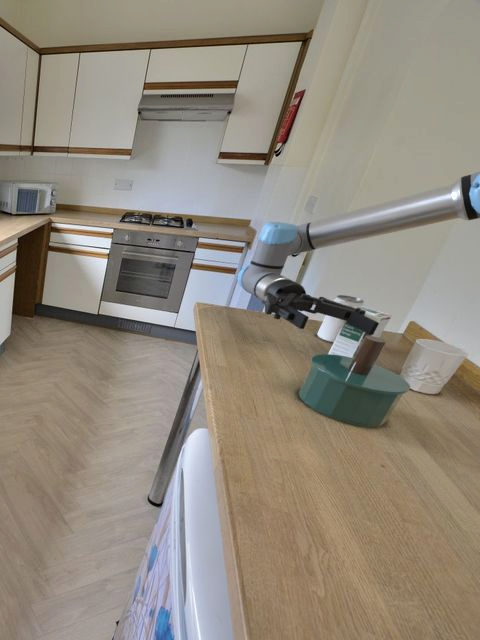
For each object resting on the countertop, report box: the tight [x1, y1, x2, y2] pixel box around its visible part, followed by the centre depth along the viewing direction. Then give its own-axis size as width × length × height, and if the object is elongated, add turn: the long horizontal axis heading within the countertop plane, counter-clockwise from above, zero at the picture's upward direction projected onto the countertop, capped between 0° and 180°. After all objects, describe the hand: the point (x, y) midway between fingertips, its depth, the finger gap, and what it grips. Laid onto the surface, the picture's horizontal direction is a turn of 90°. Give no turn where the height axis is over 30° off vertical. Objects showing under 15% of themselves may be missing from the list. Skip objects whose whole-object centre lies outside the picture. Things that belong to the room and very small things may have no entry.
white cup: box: [398, 338, 469, 395], centre depth 90 cm, size 8×8×10 cm
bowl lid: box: [310, 336, 411, 395], centre depth 78 cm, size 15×15×8 cm
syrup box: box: [327, 305, 393, 358], centre depth 96 cm, size 6×6×14 cm
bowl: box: [298, 364, 404, 428], centre depth 81 cm, size 14×14×8 cm
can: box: [316, 294, 365, 344], centre depth 112 cm, size 6×6×12 cm
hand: (339, 325), depth 85 cm, fingers open, 13 cm apart
